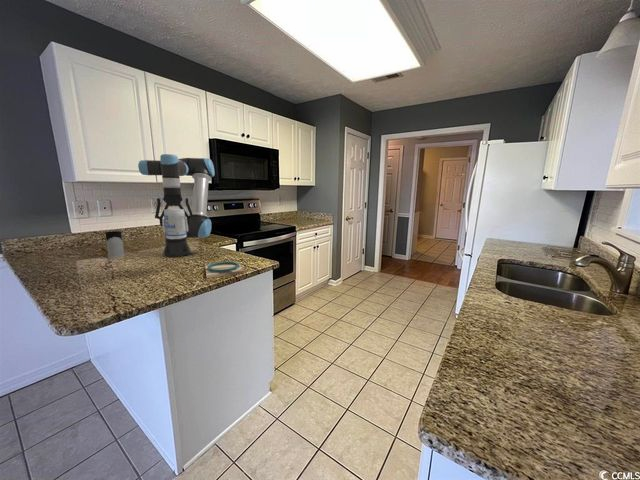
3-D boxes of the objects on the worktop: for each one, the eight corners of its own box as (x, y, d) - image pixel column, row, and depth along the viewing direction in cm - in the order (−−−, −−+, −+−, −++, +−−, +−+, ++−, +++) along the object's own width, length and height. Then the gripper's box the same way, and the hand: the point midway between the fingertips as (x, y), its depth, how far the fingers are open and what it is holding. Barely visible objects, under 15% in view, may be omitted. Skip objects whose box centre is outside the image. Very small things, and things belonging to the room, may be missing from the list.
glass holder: (108, 259, 154) (104, 233, 151) (106, 254, 165) (103, 230, 162) (126, 256, 160) (123, 232, 157) (123, 252, 170) (120, 229, 167)
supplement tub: (162, 239, 130) (158, 209, 127) (171, 236, 140) (169, 208, 137) (181, 239, 131) (179, 209, 128) (190, 236, 140) (188, 208, 137)
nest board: (205, 267, 140) (205, 262, 139) (238, 264, 147) (238, 259, 146) (206, 278, 124) (206, 272, 123) (243, 273, 131) (243, 268, 130)
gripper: (143, 186, 122) (149, 234, 127) (196, 187, 131) (200, 231, 136) (146, 186, 129) (151, 231, 133) (196, 187, 138) (199, 229, 142)
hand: (176, 231), depth 134 cm, fingers closed on supplement tub, 10 cm apart
